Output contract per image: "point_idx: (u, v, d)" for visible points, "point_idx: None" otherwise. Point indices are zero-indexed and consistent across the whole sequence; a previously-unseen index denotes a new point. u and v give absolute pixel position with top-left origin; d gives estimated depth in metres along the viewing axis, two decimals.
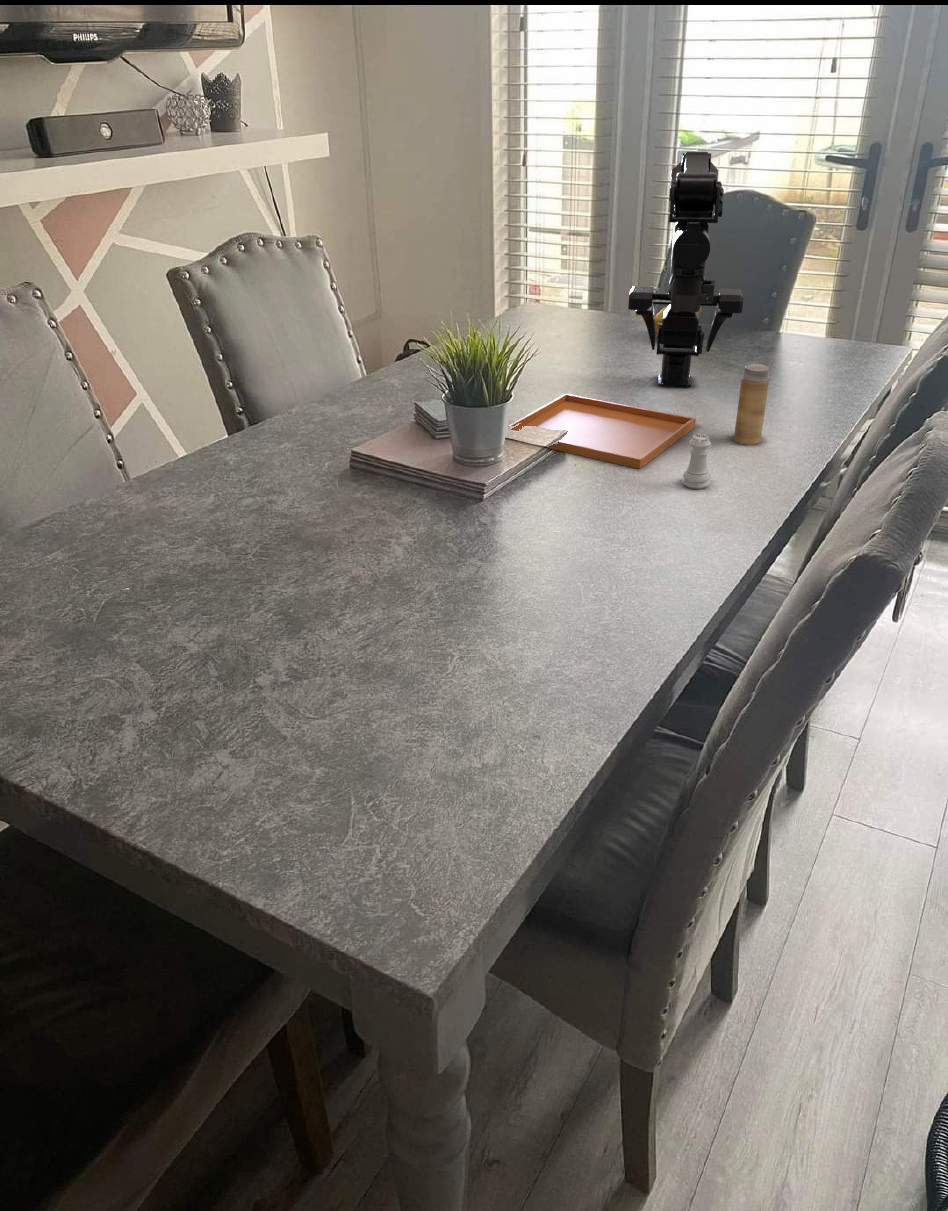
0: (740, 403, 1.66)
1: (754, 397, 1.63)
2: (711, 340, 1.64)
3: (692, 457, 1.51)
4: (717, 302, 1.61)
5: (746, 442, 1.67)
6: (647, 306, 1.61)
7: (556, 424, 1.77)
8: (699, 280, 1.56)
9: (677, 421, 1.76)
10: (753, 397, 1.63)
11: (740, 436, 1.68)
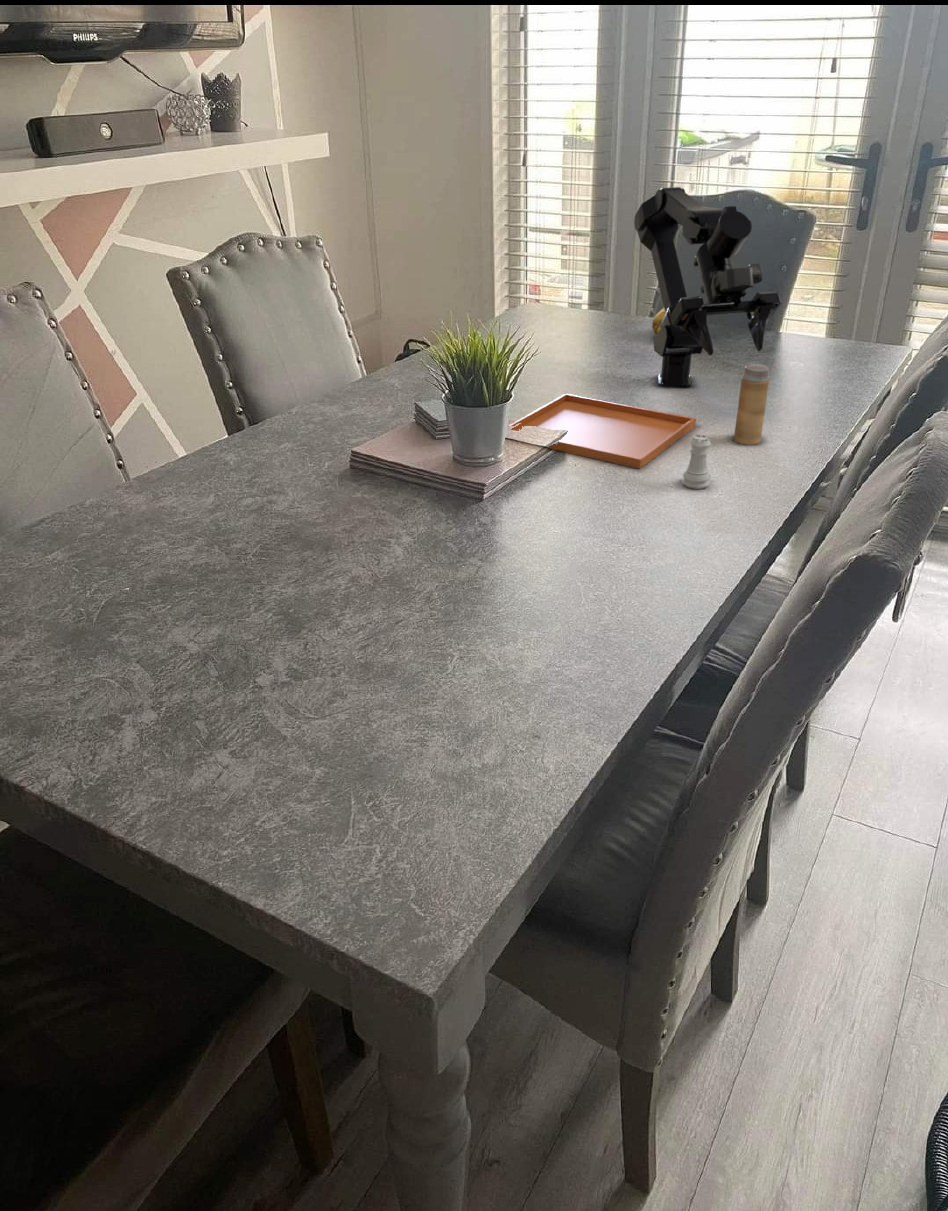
0: (740, 403, 1.66)
1: (754, 397, 1.63)
2: (761, 336, 1.70)
3: (692, 457, 1.51)
4: (754, 305, 1.72)
5: (746, 442, 1.67)
6: (700, 304, 1.67)
7: (556, 424, 1.77)
8: None
9: (677, 421, 1.76)
10: (753, 397, 1.63)
11: (740, 436, 1.68)
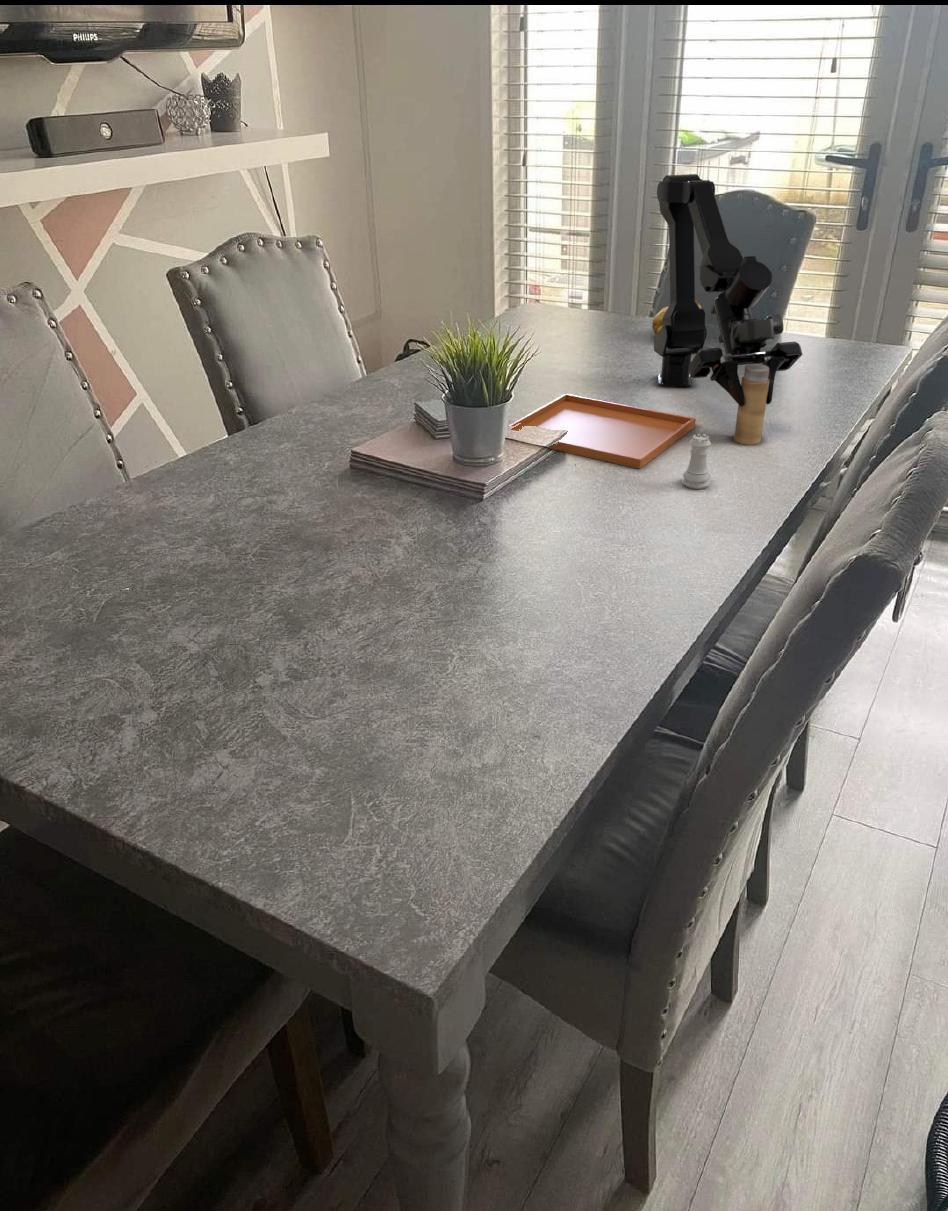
0: None
1: (754, 397, 1.63)
2: (771, 389, 1.65)
3: (692, 457, 1.51)
4: (763, 357, 1.67)
5: (746, 442, 1.67)
6: (719, 356, 1.63)
7: (556, 424, 1.77)
8: None
9: (677, 421, 1.76)
10: (753, 397, 1.63)
11: (740, 436, 1.68)
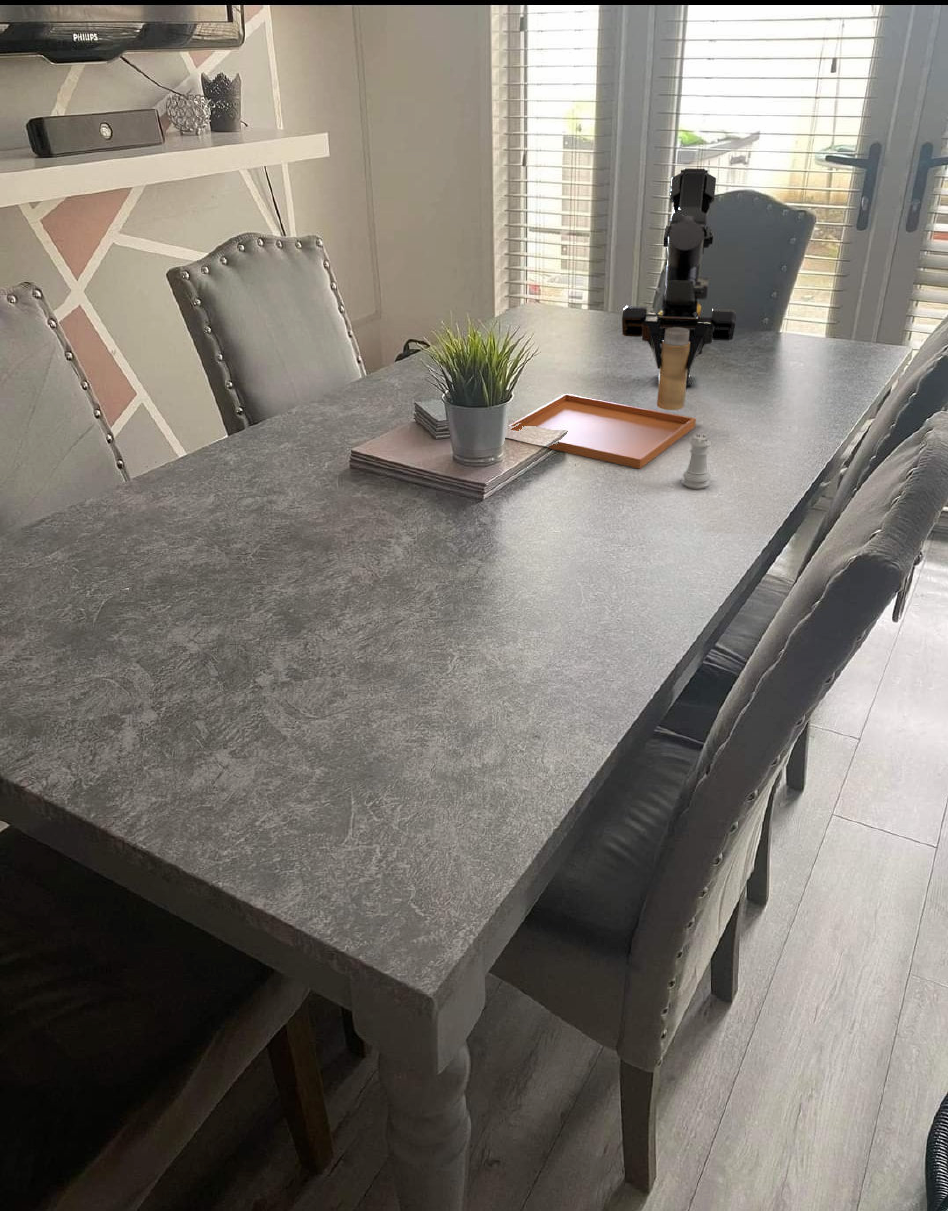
0: (660, 365, 1.63)
1: (669, 360, 1.60)
2: (692, 354, 1.61)
3: (692, 457, 1.51)
4: (697, 322, 1.63)
5: (663, 406, 1.65)
6: (641, 314, 1.62)
7: (556, 424, 1.77)
8: None
9: (677, 421, 1.76)
10: (668, 360, 1.61)
11: (659, 399, 1.65)
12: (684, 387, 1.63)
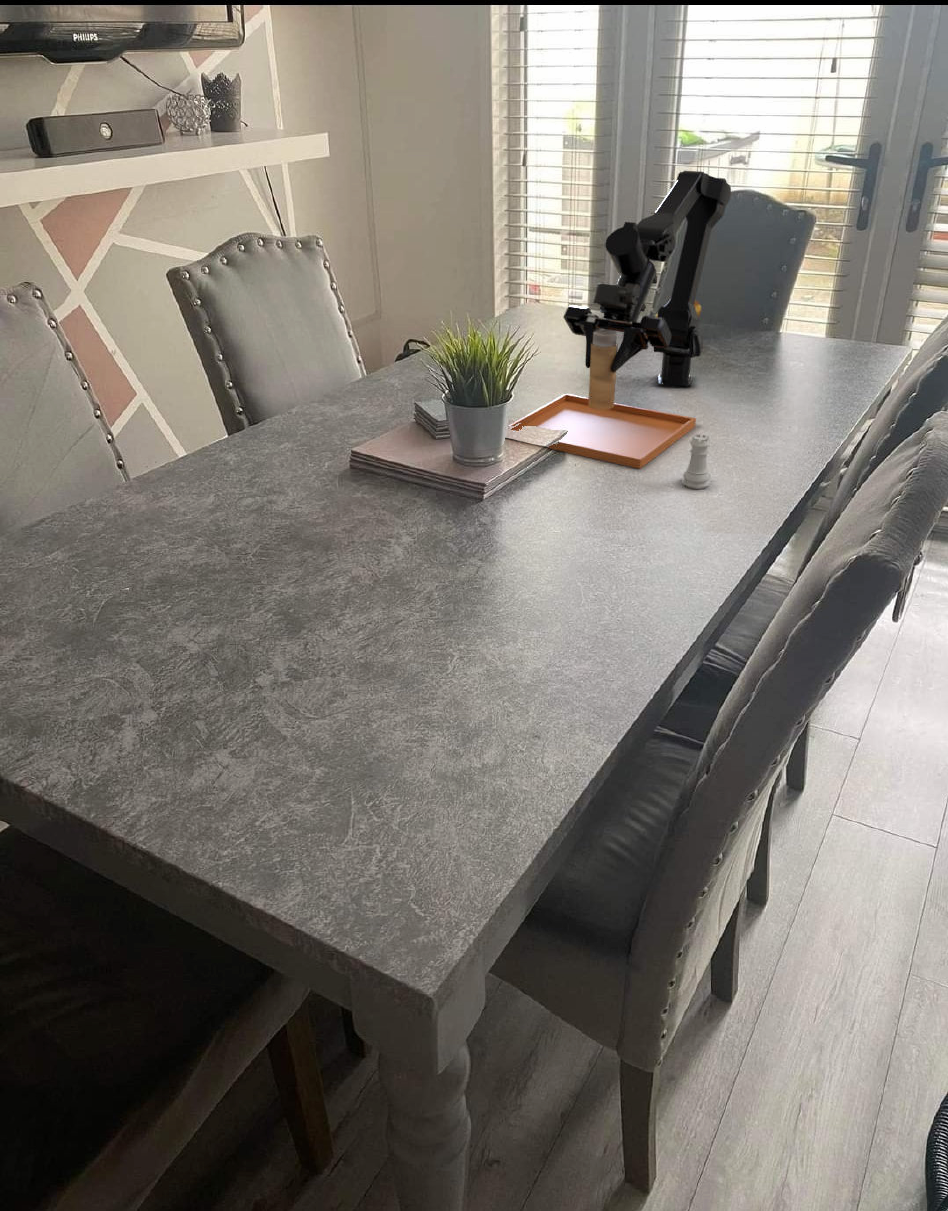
0: None
1: (593, 361, 1.66)
2: (617, 357, 1.65)
3: (692, 457, 1.51)
4: (632, 327, 1.66)
5: (590, 405, 1.70)
6: (579, 314, 1.68)
7: (556, 424, 1.77)
8: None
9: (677, 421, 1.76)
10: (593, 360, 1.66)
11: None
12: (610, 388, 1.68)
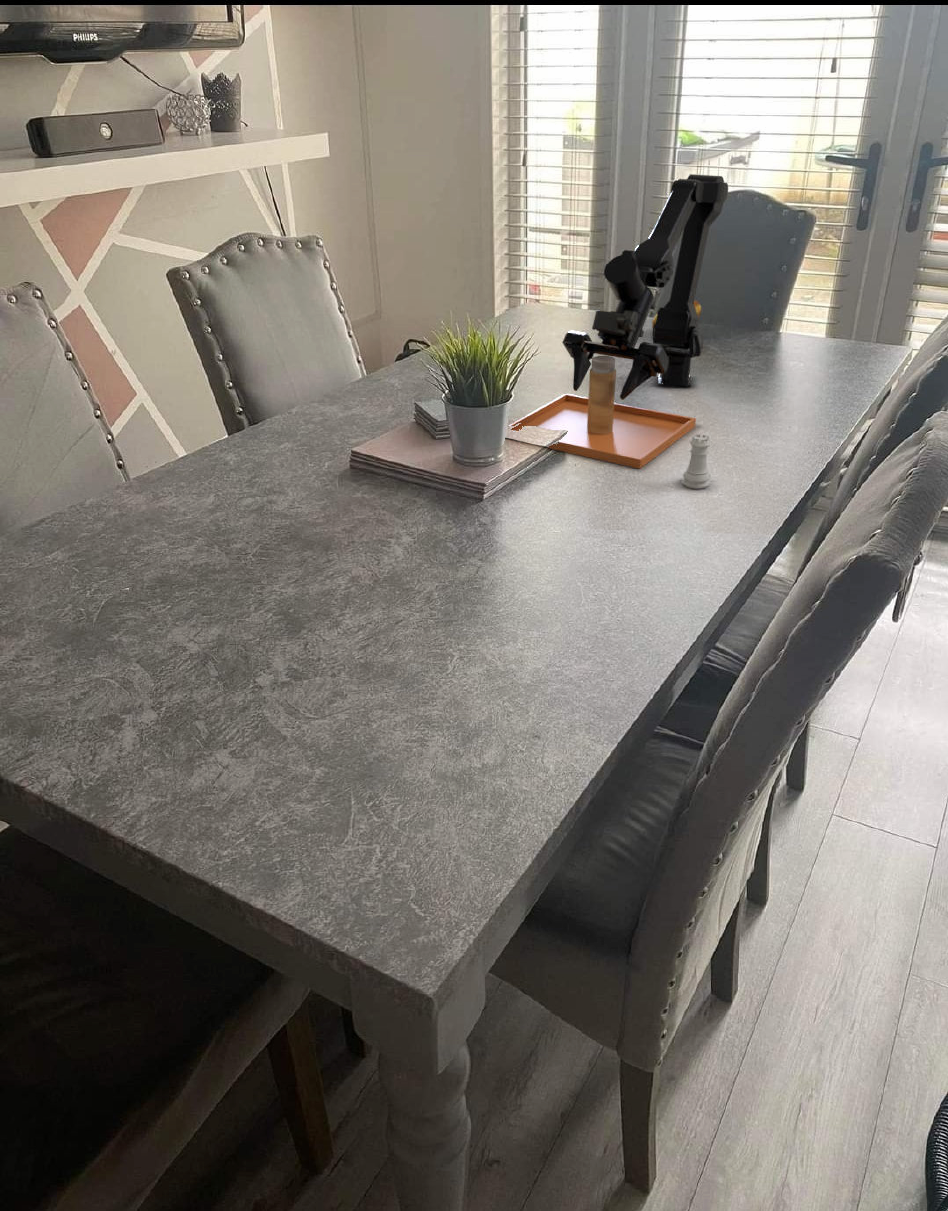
0: None
1: (592, 386, 1.68)
2: (626, 385, 1.66)
3: (692, 457, 1.51)
4: (641, 355, 1.67)
5: (589, 430, 1.73)
6: (578, 339, 1.71)
7: (556, 424, 1.77)
8: None
9: (677, 421, 1.76)
10: (591, 386, 1.68)
11: (587, 422, 1.73)
12: (609, 414, 1.70)
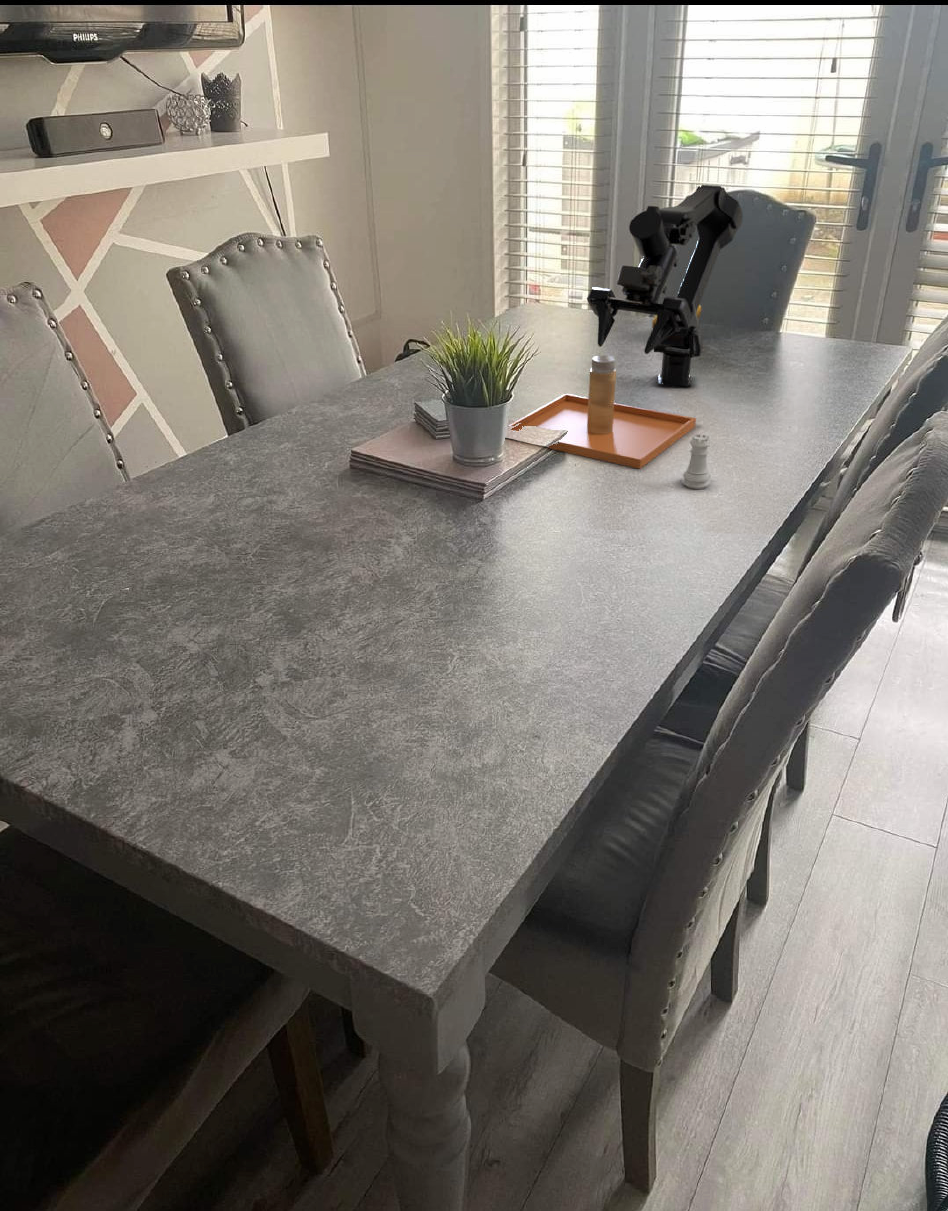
0: None
1: (592, 386, 1.68)
2: (650, 339, 1.69)
3: (692, 457, 1.51)
4: (665, 310, 1.70)
5: (589, 430, 1.73)
6: (602, 296, 1.74)
7: (556, 424, 1.77)
8: None
9: (677, 421, 1.76)
10: (591, 386, 1.68)
11: (587, 422, 1.73)
12: (609, 414, 1.70)
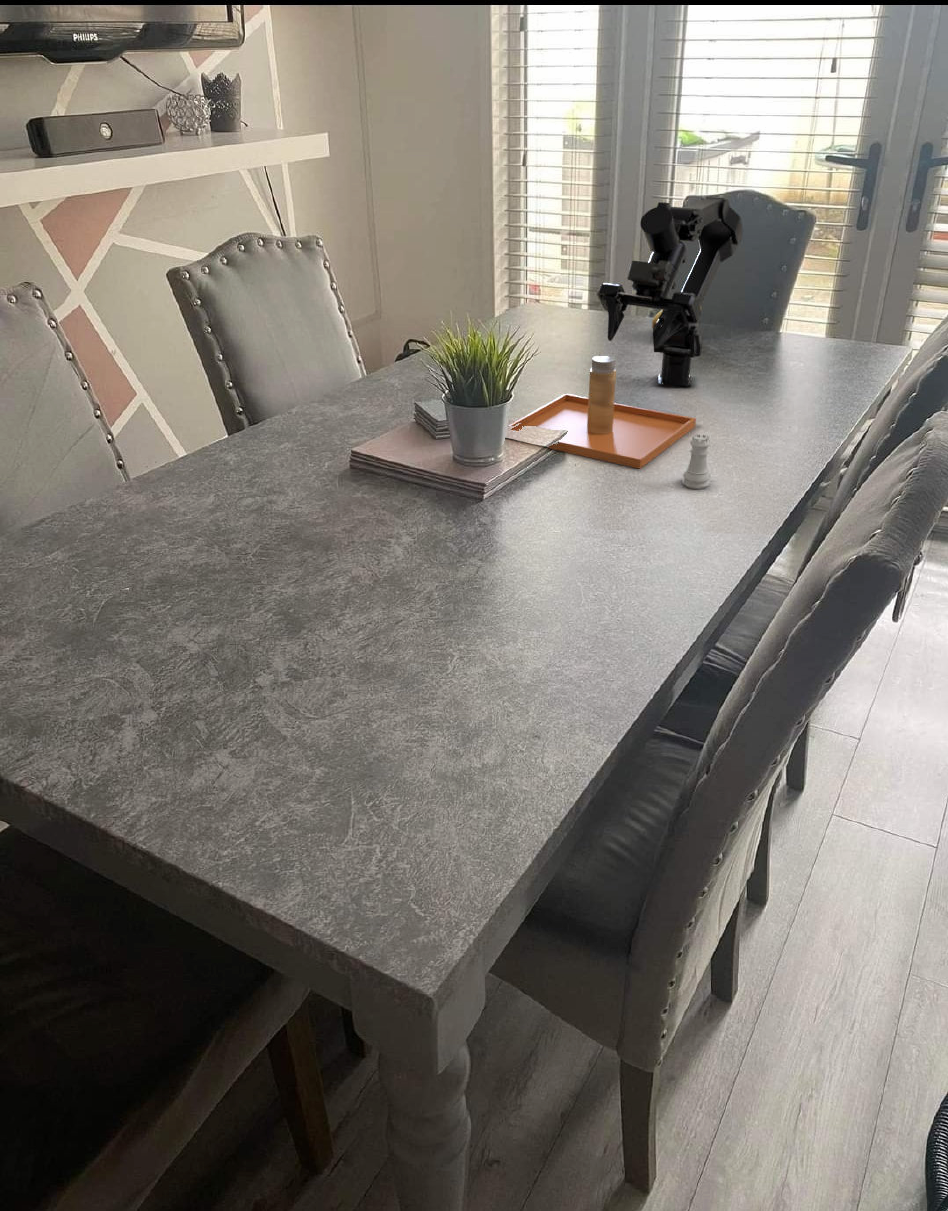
0: None
1: (592, 386, 1.68)
2: (660, 333, 1.71)
3: (692, 457, 1.51)
4: (675, 305, 1.73)
5: (589, 430, 1.73)
6: (612, 291, 1.76)
7: (556, 424, 1.77)
8: None
9: (677, 421, 1.76)
10: (591, 386, 1.68)
11: (587, 422, 1.73)
12: (609, 414, 1.70)
